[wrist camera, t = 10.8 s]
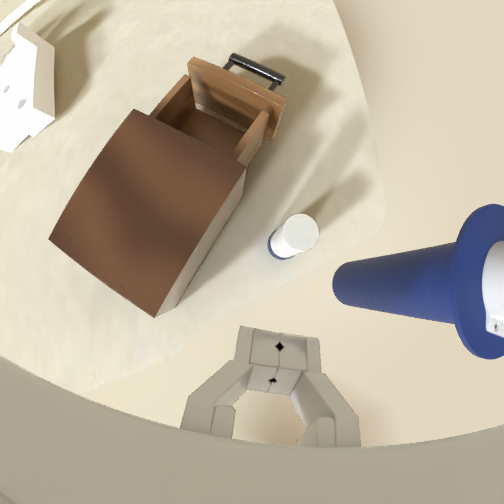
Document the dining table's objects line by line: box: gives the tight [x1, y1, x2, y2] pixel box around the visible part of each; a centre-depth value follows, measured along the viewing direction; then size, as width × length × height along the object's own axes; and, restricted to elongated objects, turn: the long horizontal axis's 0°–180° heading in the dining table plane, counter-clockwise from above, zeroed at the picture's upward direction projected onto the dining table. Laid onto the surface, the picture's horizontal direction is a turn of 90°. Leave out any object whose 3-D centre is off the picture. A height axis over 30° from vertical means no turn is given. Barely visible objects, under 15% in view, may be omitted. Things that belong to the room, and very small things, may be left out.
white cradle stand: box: [0, 22, 55, 152], centre depth 28 cm, size 18×10×10 cm, turn 21°
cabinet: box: [49, 109, 247, 318], centre depth 28 cm, size 15×13×10 cm
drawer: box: [149, 53, 288, 167], centre depth 30 cm, size 18×11×8 cm, turn 149°
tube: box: [268, 214, 319, 260], centre depth 29 cm, size 3×3×9 cm
